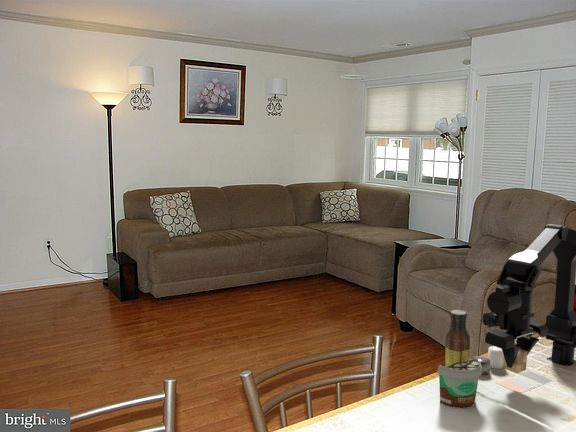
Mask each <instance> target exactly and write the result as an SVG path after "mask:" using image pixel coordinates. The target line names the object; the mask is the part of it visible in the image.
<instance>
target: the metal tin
mask: <svg viewBox="0 0 576 432" xmlns="http://www.w3.org/2000/svg"><path fill="white" fill-rule="evenodd" d="M473 357H475V358H477V359H478V360H479V361H480V364H481V367H482V374H481V376H487V375H489V374H490V370H491V367H490V360H489V359H488V357H485V356H482V355H480V356H478V355H476V356H472V357H470V360H472V358H473Z"/></svg>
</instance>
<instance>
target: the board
mask: <svg viewBox="0 0 576 432" xmlns="http://www.w3.org/2000/svg"><path fill="white" fill-rule="evenodd" d="M553 381H554V380H553V379H552V378H549V377H546V376H544V375H541V374H539V373H537V372H533V371H531V370H527V371H524V372H520V373H518V374H516V375H514V376H511V377H509V378H506V379H503V380H499V381H498V382H496V384H497V385H498V386H502V387H503V388H506V389H508V390H510V391H513V392H515V393H517V394H519V395H521V394H523V393H526V392H528V391H529V392H530V391H531V390H533V389H536V388H538V387H541V386H543V385H546V384H547V383H550V382H553Z"/></svg>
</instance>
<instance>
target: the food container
mask: <svg viewBox="0 0 576 432" xmlns="http://www.w3.org/2000/svg"><path fill="white" fill-rule="evenodd" d="M472 357H473V358H472ZM472 357H471V358H472V360H471V359H470V361H467V362H457V363H454V364H452V365H450V366H447V367H445V365H444V366H443V365H441V364H438V367H437V372H436V373H437V374H438V375H439V376H438V378H439V382H438V383H439V403H441V404H442V405H444V406H447V407H449V408H455V409H467V408H471V407H473V406H474V405H475V403H476V397H477V391H478V384H479V383H478V382H479V378H480V377H481V376H482V375H481V374H482V367H481V364H480V361H479V360H478V359H477V358H475V357H474V356H472Z"/></svg>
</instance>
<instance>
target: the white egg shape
mask: <svg viewBox="0 0 576 432" xmlns="http://www.w3.org/2000/svg"><path fill="white" fill-rule="evenodd" d="M503 357H504V354H503V351H502V349H501V348H498V347H496V346H493V345H490V346H489V347H488V352H487V358H488V359H489V360H490V369H491V368H492V369H495V370H496V369H497V370H502V369H504V368H503Z"/></svg>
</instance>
